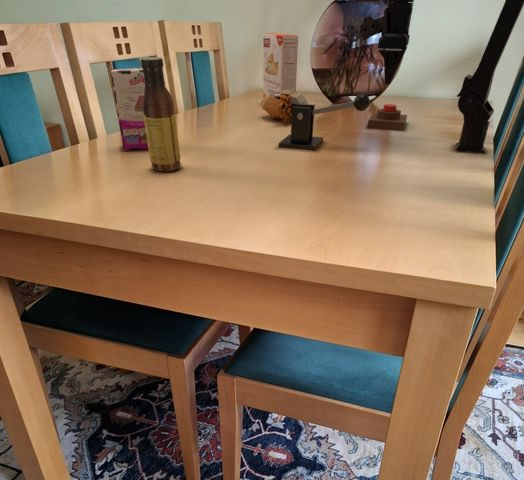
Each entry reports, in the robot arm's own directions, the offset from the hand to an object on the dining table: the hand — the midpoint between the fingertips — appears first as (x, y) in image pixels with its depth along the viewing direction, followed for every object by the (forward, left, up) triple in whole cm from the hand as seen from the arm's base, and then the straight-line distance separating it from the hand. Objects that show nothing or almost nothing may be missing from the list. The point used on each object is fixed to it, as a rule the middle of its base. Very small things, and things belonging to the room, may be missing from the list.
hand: (388, 81), depth 113 cm
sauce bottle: (-44, +40, -13) cm, 61 cm away
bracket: (-14, +18, -13) cm, 26 cm away
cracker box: (+38, +39, -13) cm, 56 cm away
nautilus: (+14, +31, -13) cm, 36 cm away
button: (+18, 0, -9) cm, 20 cm away
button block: (+18, 0, -13) cm, 22 cm away
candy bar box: (-29, +53, -13) cm, 62 cm away
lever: (-14, +10, -6) cm, 18 cm away
